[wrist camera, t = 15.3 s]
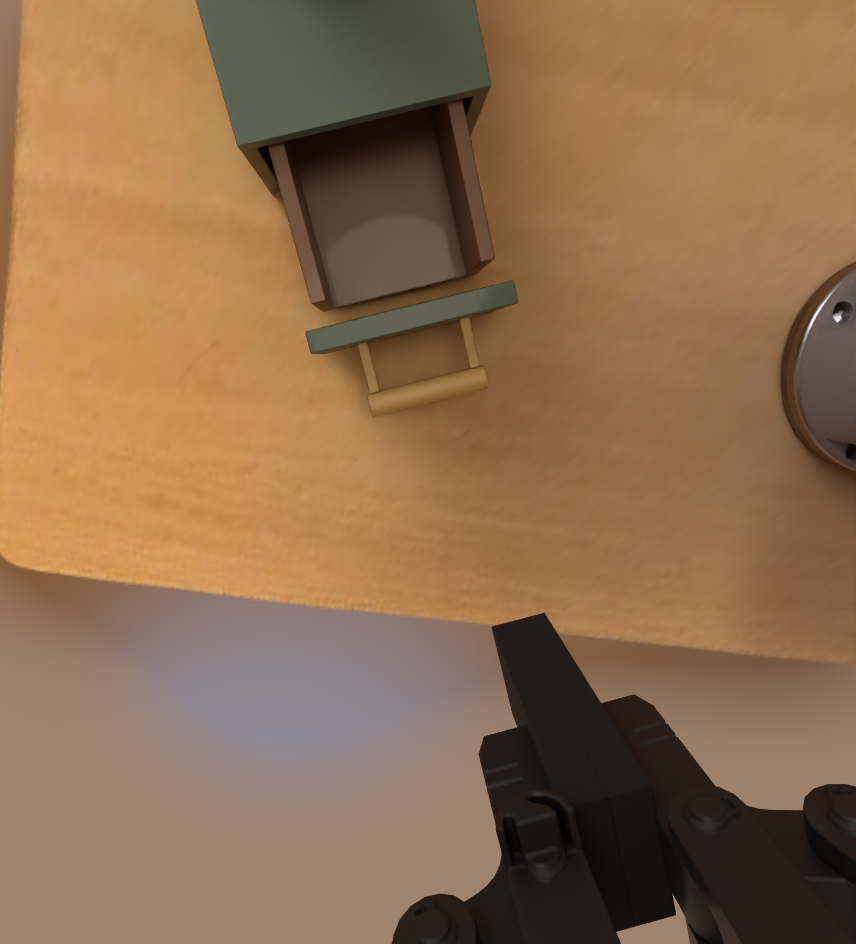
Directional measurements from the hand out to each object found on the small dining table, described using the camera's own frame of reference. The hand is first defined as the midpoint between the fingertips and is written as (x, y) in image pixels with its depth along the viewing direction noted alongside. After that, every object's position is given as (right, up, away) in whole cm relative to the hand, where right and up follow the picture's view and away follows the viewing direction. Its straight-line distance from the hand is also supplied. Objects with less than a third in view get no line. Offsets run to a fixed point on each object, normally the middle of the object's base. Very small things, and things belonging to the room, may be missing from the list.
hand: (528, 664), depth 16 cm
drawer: (-5, +19, +21) cm, 29 cm away
